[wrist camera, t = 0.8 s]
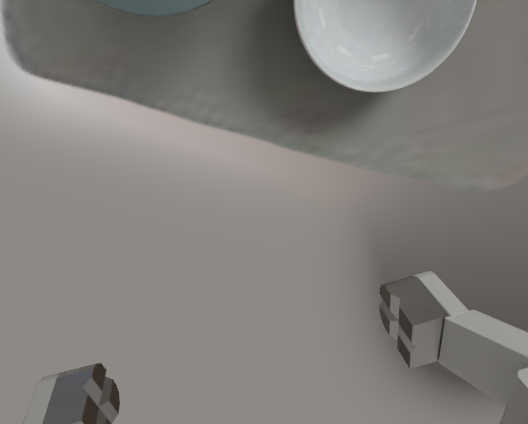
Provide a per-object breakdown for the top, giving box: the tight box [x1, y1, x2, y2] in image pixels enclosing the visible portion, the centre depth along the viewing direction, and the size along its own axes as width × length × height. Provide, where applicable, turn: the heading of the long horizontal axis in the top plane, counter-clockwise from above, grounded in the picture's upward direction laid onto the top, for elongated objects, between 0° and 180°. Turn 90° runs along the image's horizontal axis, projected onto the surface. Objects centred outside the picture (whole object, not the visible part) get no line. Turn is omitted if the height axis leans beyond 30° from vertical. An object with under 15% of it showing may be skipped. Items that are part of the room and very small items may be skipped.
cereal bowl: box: [293, 0, 477, 93], centre depth 36 cm, size 17×17×7 cm
